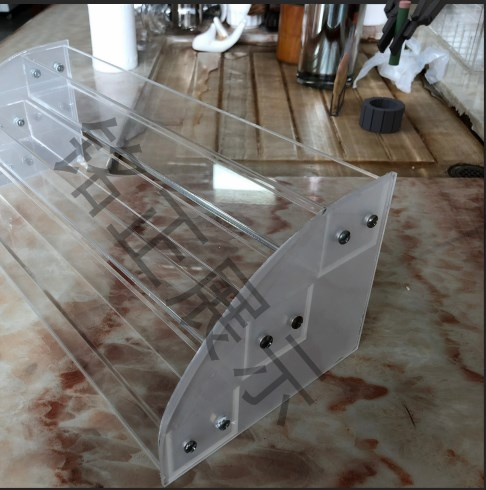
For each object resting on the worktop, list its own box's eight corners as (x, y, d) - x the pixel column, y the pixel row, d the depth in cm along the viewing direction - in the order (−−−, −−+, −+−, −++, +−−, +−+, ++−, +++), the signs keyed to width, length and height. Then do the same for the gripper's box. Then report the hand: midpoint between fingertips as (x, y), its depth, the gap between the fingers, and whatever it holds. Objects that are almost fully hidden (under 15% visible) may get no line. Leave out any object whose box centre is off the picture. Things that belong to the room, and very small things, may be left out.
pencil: (400, 64, 120) (413, 1, 113) (394, 66, 119) (406, 3, 113) (393, 62, 122) (404, 0, 115) (386, 64, 121) (397, 1, 114)
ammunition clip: (336, 100, 144) (343, 49, 138) (343, 100, 144) (351, 50, 137) (328, 115, 136) (336, 62, 129) (337, 116, 135) (344, 63, 129)
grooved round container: (408, 127, 129) (413, 105, 126) (381, 136, 125) (385, 113, 123) (378, 115, 135) (382, 94, 132) (350, 123, 132) (354, 101, 129)
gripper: (490, -37, 114) (425, 69, 114) (417, -44, 124) (358, 53, 124) (484, -65, 108) (417, 46, 109) (409, -70, 118) (347, 32, 118)
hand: (386, 50), depth 116 cm, fingers closed on pencil, 2 cm apart
